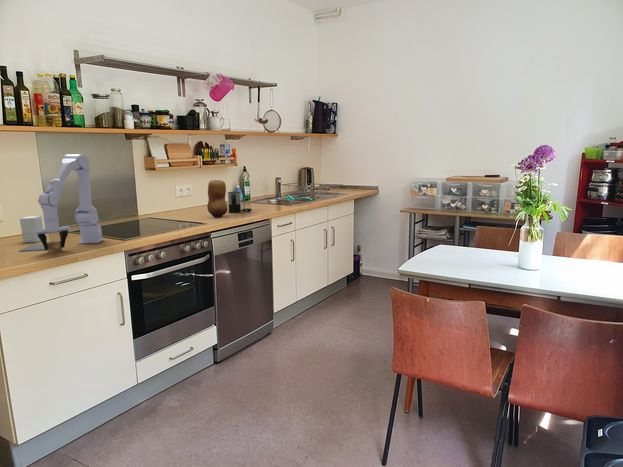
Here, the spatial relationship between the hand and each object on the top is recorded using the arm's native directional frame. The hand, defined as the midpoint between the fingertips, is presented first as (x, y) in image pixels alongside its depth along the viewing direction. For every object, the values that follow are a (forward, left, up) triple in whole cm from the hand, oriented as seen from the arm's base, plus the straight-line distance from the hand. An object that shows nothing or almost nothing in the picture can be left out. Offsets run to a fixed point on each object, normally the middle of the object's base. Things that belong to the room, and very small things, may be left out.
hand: (54, 248), depth 210 cm
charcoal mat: (+10, -11, -1) cm, 15 cm away
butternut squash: (-70, -90, -2) cm, 114 cm away
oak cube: (0, 0, -1) cm, 1 cm away
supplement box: (+21, -30, -2) cm, 37 cm away
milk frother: (-85, -110, -2) cm, 139 cm away
